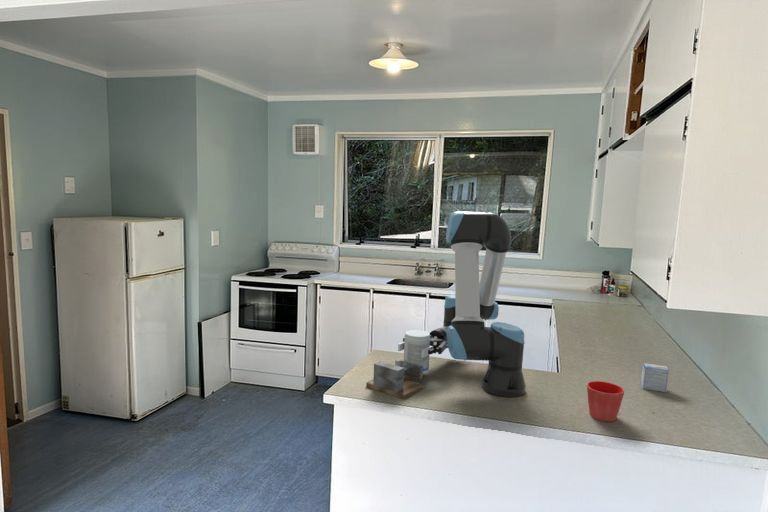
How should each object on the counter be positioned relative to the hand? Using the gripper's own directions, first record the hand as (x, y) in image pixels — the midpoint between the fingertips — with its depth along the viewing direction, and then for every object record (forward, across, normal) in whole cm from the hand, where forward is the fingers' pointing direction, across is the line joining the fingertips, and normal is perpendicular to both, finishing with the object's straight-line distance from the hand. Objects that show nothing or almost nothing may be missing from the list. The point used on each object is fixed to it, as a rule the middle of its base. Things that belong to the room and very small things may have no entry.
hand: (410, 350), depth 175 cm
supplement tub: (-4, 0, -9) cm, 10 cm away
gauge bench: (+10, 0, -11) cm, 15 cm away
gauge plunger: (+3, 0, -9) cm, 9 cm away
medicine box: (-54, -73, -11) cm, 91 cm away
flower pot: (-16, -63, -11) cm, 66 cm away
